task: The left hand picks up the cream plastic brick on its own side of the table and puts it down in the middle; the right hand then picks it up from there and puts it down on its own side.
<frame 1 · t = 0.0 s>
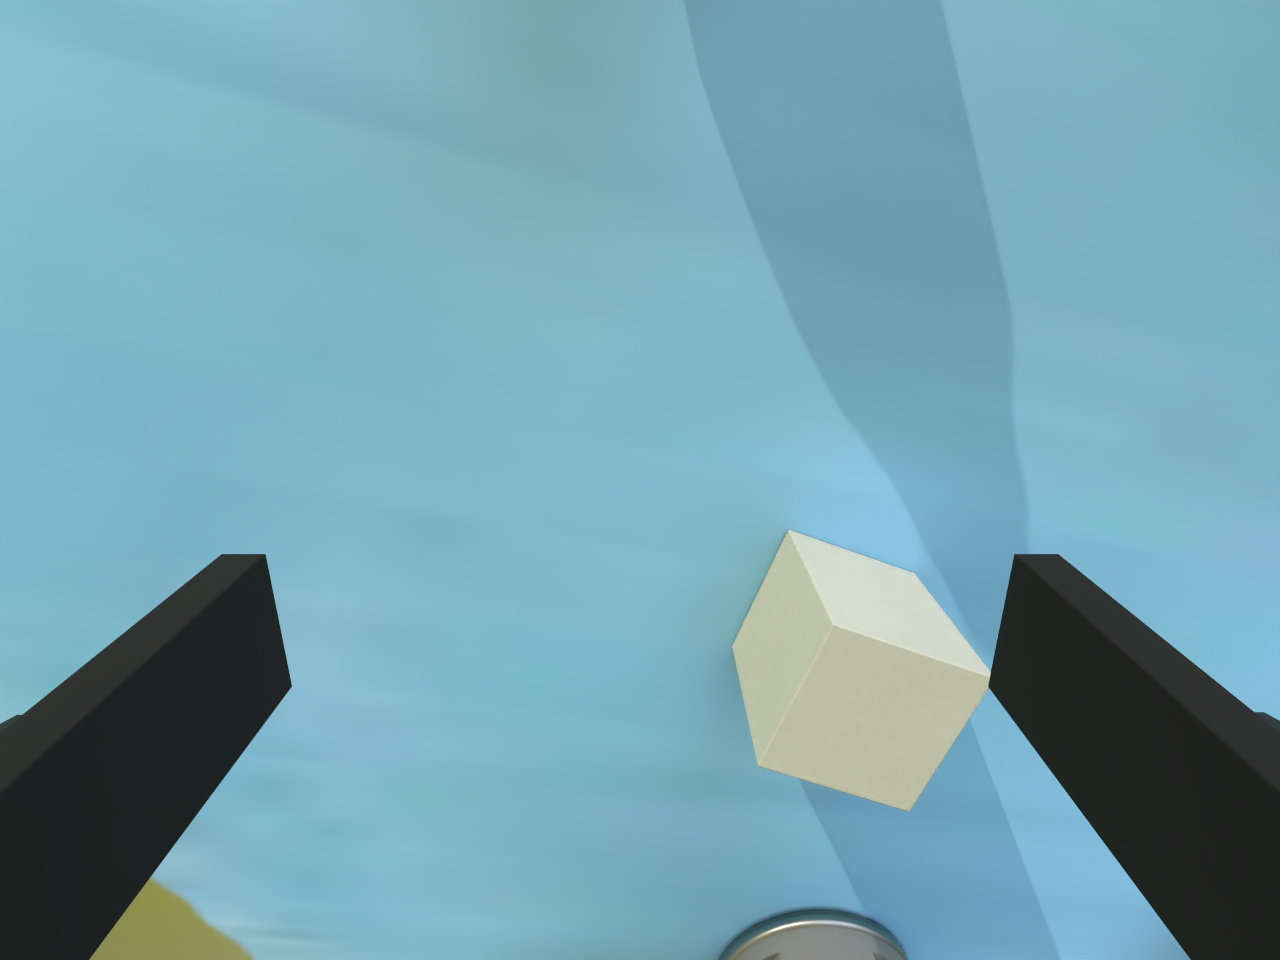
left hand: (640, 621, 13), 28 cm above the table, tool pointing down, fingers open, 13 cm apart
brick: (821, 610, 45), on the table
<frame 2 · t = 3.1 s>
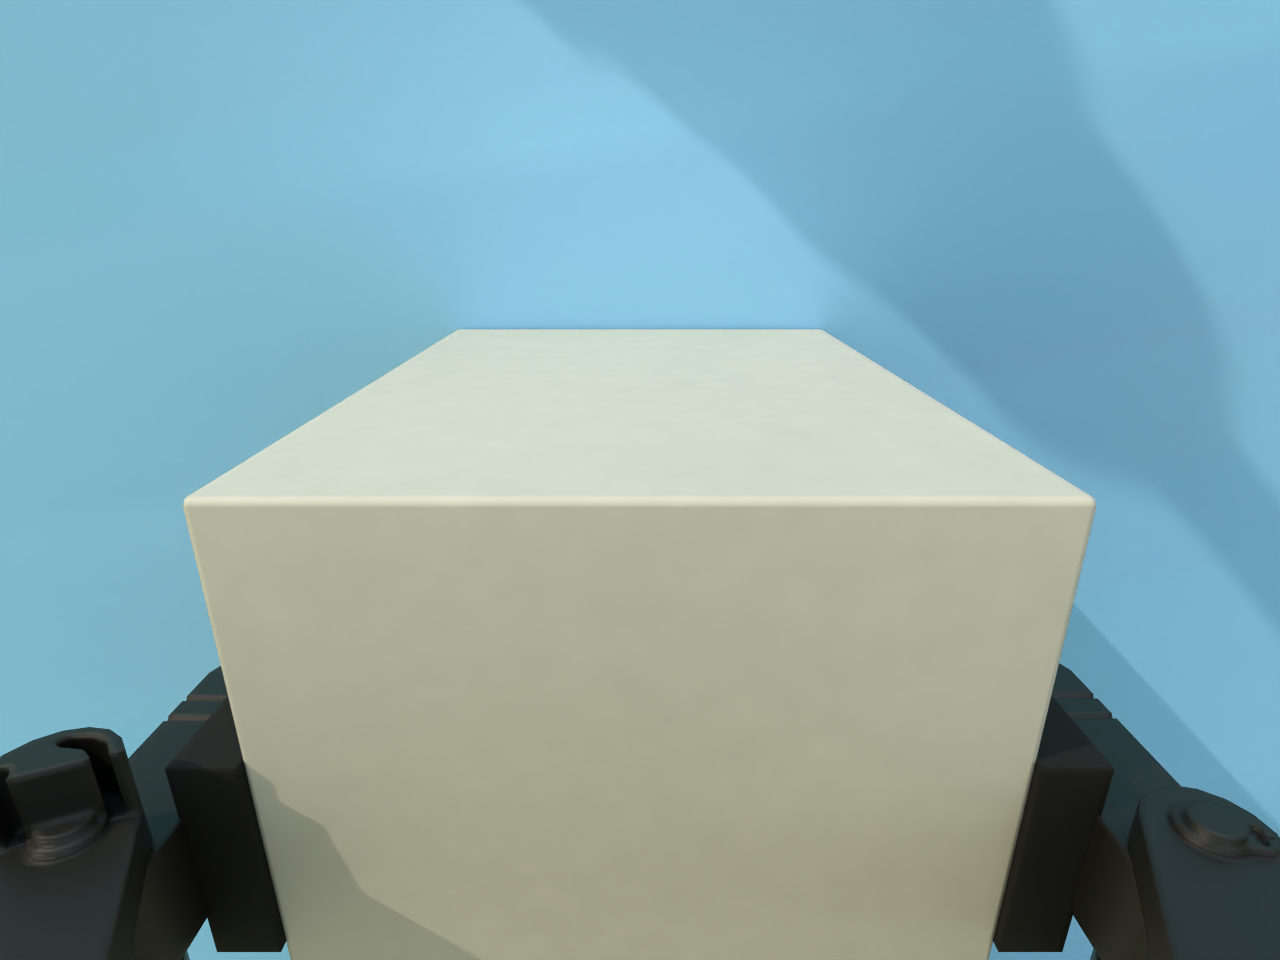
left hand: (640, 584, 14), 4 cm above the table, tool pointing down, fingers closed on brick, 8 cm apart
brick: (639, 503, 18), on the table, touching left hand
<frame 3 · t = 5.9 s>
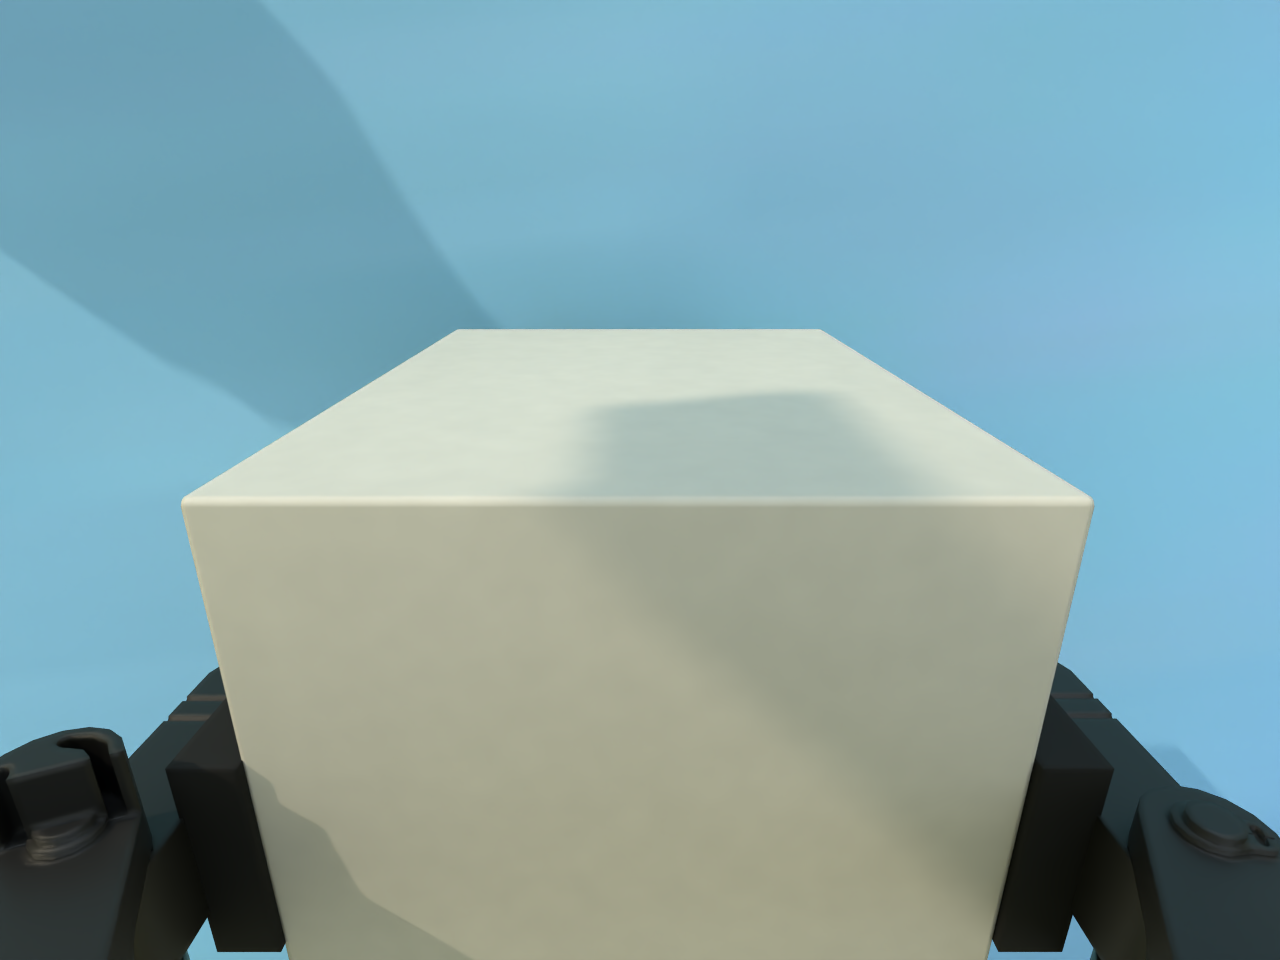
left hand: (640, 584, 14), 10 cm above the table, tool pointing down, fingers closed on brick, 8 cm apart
brick: (639, 503, 18), point 6 cm above the table, touching left hand
when the left hand's fingers open (5 cm above the table, at t = 8.7 s): brick drops 1 cm, on the table.
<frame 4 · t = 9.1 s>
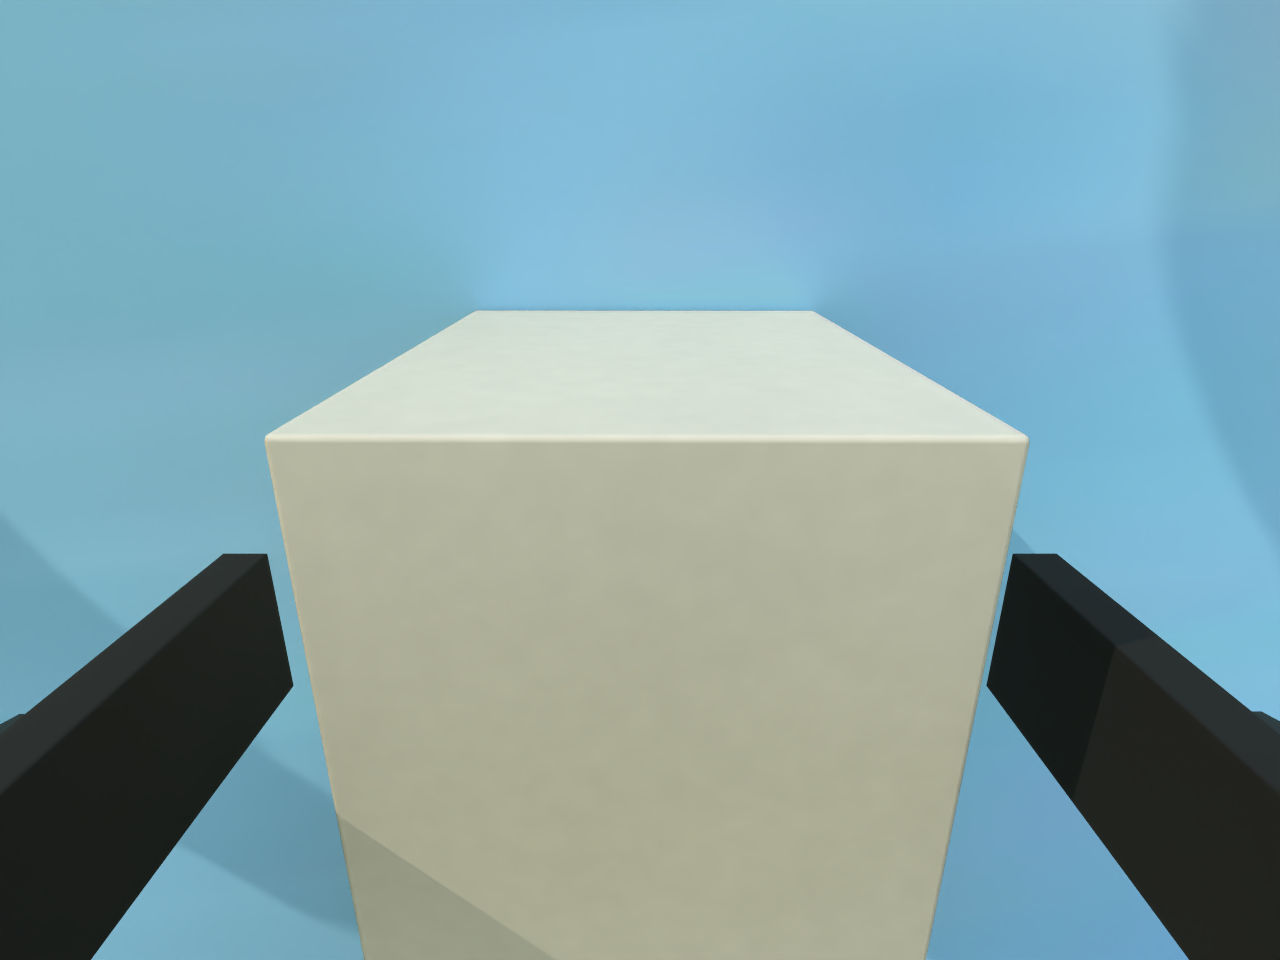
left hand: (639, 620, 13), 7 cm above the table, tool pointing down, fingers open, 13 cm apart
brick: (643, 474, 19), on the table
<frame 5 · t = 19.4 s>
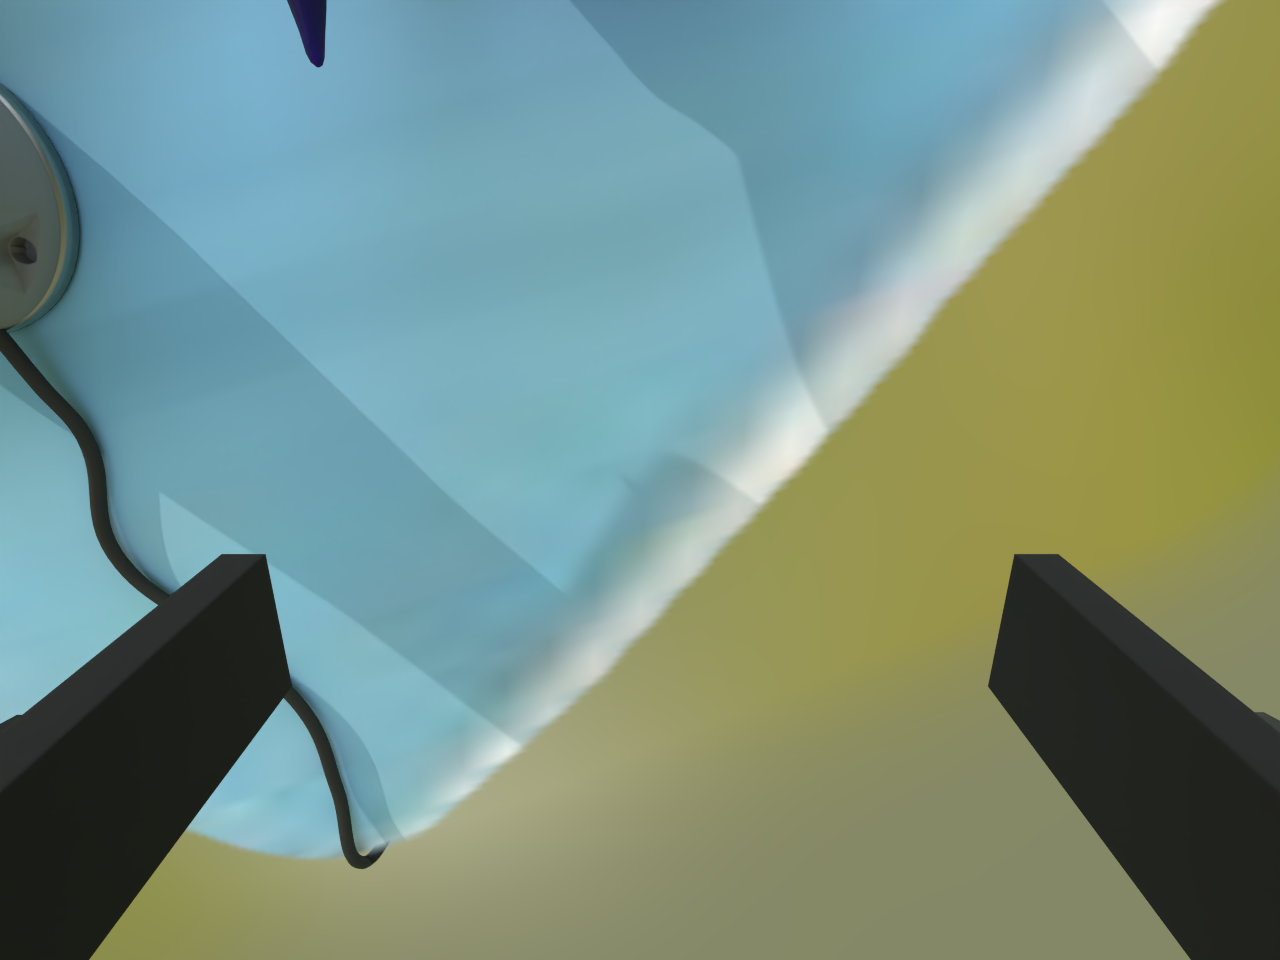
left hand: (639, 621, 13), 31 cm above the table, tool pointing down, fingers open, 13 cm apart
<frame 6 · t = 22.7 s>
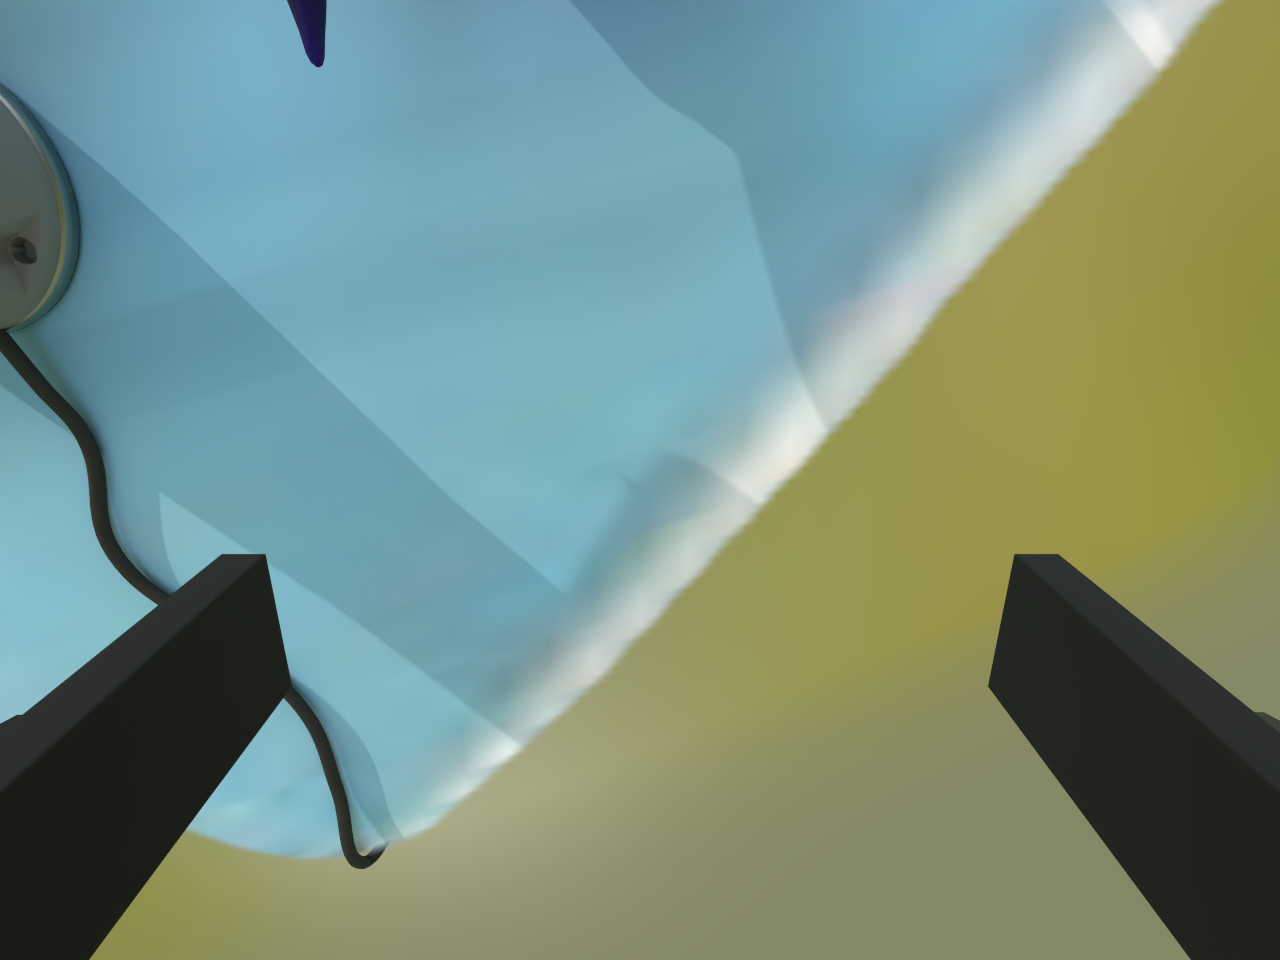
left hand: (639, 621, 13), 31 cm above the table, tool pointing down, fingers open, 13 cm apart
when the right hand's fingers open (5 cm above the table, at t = 26.3 s): brick drops 1 cm, on the table.
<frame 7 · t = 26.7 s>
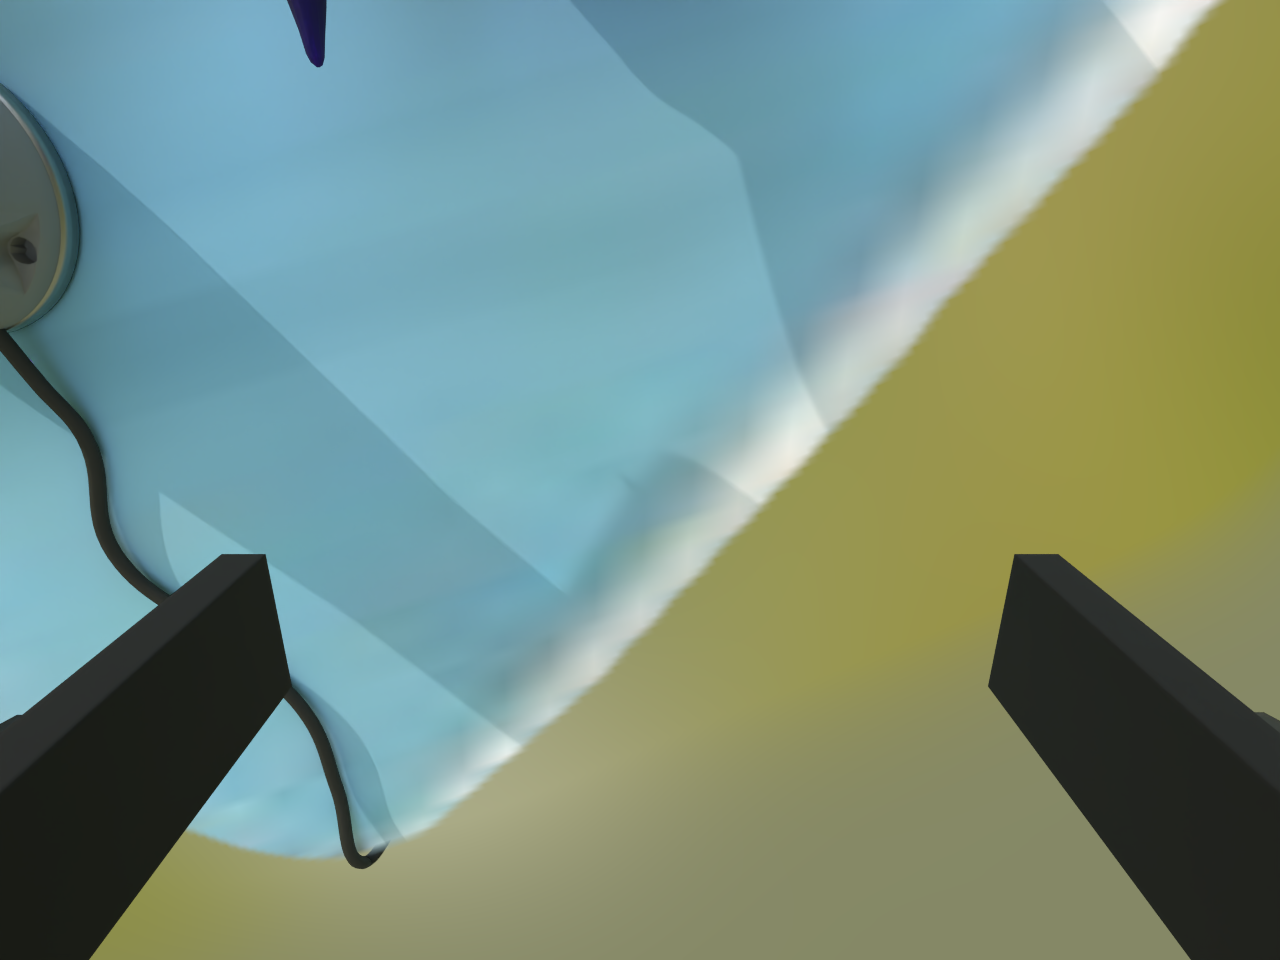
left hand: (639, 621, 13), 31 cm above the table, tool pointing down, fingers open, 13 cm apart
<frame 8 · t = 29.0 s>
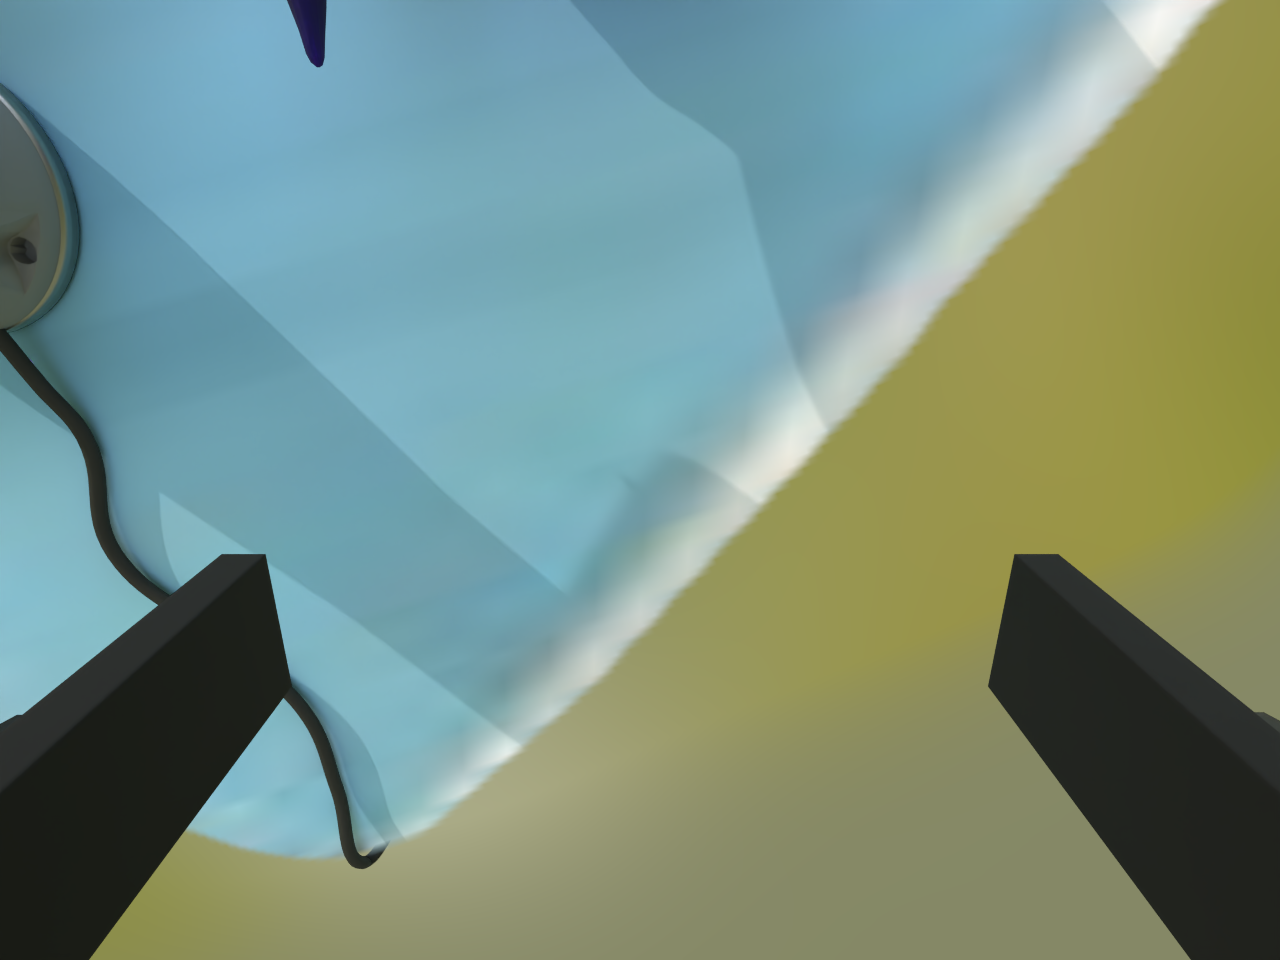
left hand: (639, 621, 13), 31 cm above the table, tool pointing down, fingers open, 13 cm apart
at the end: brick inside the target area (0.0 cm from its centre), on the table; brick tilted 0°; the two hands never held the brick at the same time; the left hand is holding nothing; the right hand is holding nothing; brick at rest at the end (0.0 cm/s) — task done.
